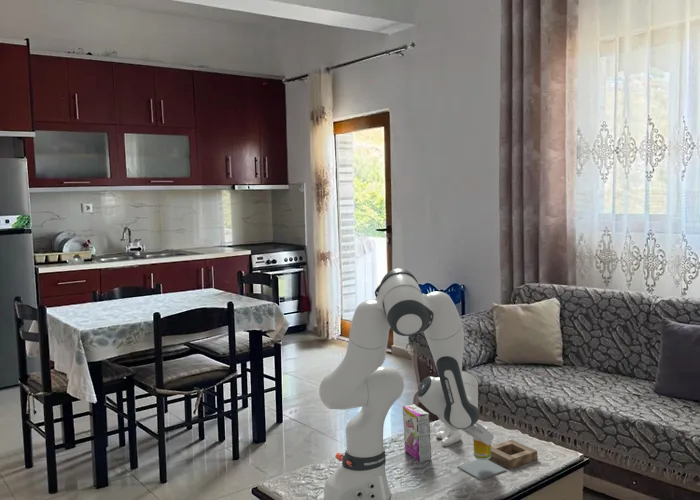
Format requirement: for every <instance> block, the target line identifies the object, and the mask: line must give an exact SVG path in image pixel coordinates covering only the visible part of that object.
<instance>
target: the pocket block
mask: <svg viewBox="0 0 700 500" xmlns="http://www.w3.org/2000/svg"><path fill="white" fill-rule="evenodd" d="M511 453H512V454H511ZM510 454H511V455H510ZM489 460H490V461H491V460H492V462H494V463H498V464H500V465H501V466H504V467H506V468H508V469H509V470H511V469H514V468H517V467H520V466H523V465H526V464H529V463H532V462H535V461H537V460H539V459H538V450H536V449H534V448H531V447H529V446H527V445H524V444H522V443H520V442H518V441H516V440H514V439H509V440H507V441H502V442H501V443H500V442H499V443H496V444H493V445H491V458H490V459H489Z"/></svg>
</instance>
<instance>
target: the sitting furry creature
mask: <svg viewBox="0 0 700 500" xmlns="http://www.w3.org/2000/svg"><path fill="white" fill-rule="evenodd" d="M443 427H444V428H443V431H442V430H441V431H437V432H436V433H435V438H436V439H439V440H441V446H442V447H447V446H452V445H453V444H456V443H458V442H459V441H460V440H461V439H462V435H463V434H462V432H461V430H451V429H450V428H449V427H448V426H446V425H445V424H444V425H443Z"/></svg>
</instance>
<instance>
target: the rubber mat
mask: <svg viewBox="0 0 700 500" xmlns="http://www.w3.org/2000/svg"><path fill="white" fill-rule="evenodd" d="M457 468H458V470H461V471H463V472H464V473H466V474H468V475H470V476H472V477H474V478H475V479H477V480H479V481H482V480H483V479H484V480H485V479H487V478H490V477H494V476H496V475H499V474H502V473H505V472H507V470H508V469H506V468H504V467H502V465H501V466H500V465H498V464H496V462H494V461H491V460H490V459H487V460H479V459H476V460H473V461H470V462H468V463H464V464H460V465H458V466H457Z"/></svg>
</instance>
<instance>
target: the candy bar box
mask: <svg viewBox="0 0 700 500" xmlns="http://www.w3.org/2000/svg"><path fill="white" fill-rule="evenodd" d="M402 415H403V416H402V417H403V419H402V421H403V437H404V452H406V453H407V454H408V455H410V457H412V458H414V459H415V461H417V462H418V463H423V462H428V461H431V460H432V447H431V427H430V424H431V423H430V413H429V412H427V411H426V410H424V409H422V408H421V407H419V406H418V405H416V404H414V403H413V404H408V405H404V406H402Z"/></svg>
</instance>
